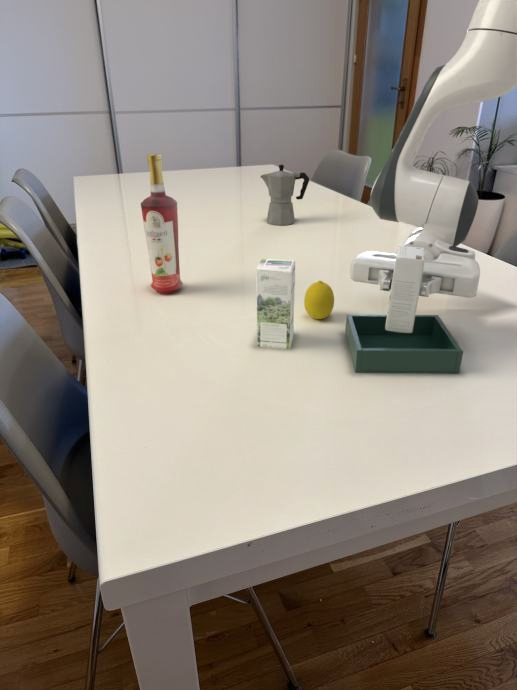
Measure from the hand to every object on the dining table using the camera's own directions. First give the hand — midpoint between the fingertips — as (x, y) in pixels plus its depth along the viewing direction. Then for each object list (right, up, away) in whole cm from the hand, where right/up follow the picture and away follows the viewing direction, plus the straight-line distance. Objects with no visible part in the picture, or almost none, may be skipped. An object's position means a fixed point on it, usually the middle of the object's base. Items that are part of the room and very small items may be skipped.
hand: (404, 289), depth 78 cm
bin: (+1, -10, +6) cm, 12 cm away
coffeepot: (-14, +31, +90) cm, 96 cm away
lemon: (-11, -4, +19) cm, 22 cm away
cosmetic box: (0, -6, +4) cm, 7 cm away
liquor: (-42, +3, +35) cm, 55 cm away
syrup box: (-19, -9, +10) cm, 24 cm away
